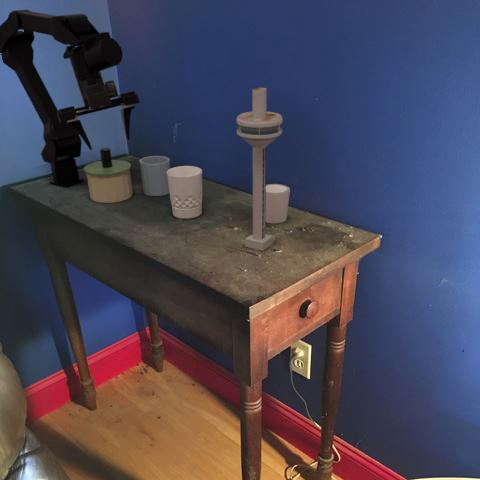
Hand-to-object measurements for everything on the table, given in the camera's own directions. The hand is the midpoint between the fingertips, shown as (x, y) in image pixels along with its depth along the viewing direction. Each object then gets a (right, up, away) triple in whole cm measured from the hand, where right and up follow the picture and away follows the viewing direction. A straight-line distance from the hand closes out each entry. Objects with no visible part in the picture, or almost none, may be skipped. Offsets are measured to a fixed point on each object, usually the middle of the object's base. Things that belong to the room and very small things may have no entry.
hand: (109, 144), depth 134 cm
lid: (-1, -5, +4) cm, 6 cm away
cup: (+10, -9, +10) cm, 16 cm away
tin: (-1, -11, +7) cm, 13 cm away
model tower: (+35, -27, -19) cm, 48 cm away
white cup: (+19, -17, -4) cm, 26 cm away
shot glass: (+39, -19, -7) cm, 44 cm away
